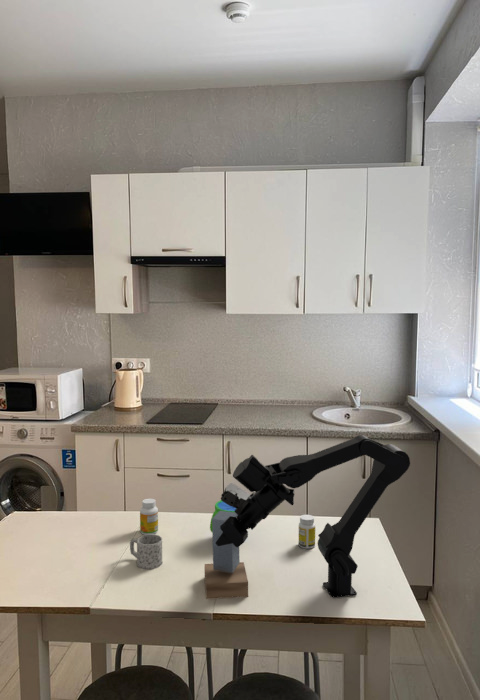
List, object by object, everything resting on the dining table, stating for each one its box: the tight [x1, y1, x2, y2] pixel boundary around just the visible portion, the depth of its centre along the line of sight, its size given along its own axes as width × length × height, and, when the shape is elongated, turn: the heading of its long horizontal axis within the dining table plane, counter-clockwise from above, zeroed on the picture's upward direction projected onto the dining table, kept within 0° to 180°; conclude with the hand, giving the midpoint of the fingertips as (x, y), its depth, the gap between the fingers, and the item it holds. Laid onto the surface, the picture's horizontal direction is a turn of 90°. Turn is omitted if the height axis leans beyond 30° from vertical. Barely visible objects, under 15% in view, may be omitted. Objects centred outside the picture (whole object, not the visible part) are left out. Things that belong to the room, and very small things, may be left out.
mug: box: [129, 533, 163, 570], centre depth 150 cm, size 10×7×7 cm
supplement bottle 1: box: [139, 498, 159, 535], centre depth 169 cm, size 5×5×10 cm
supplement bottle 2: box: [298, 514, 316, 550], centre depth 161 cm, size 5×5×8 cm
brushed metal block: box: [211, 511, 241, 573], centre depth 137 cm, size 5×5×13 cm
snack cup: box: [209, 499, 236, 534], centre depth 165 cm, size 16×10×10 cm
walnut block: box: [204, 561, 249, 600], centre depth 138 cm, size 10×10×4 cm
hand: (220, 539), depth 137 cm, fingers closed on brushed metal block, 5 cm apart
